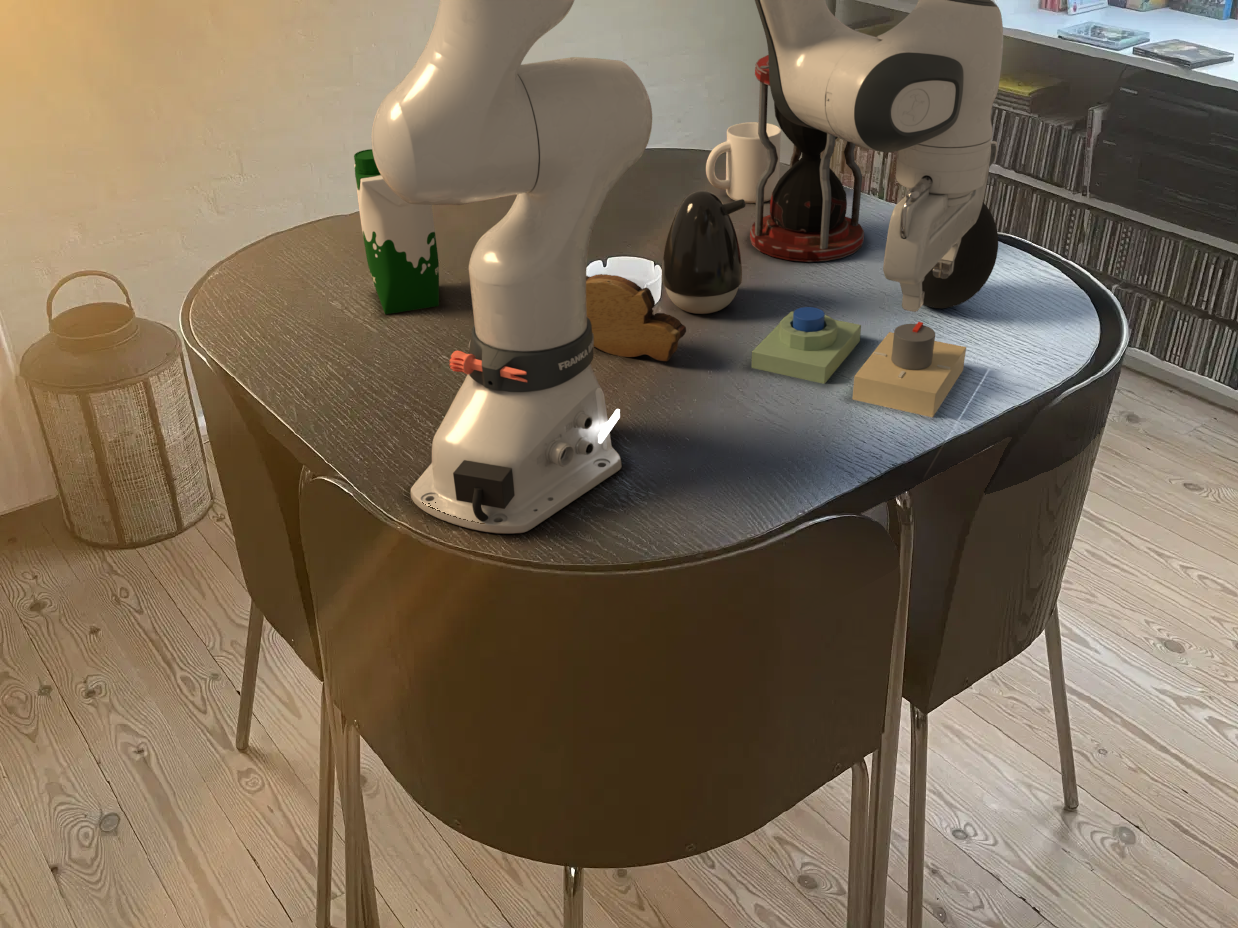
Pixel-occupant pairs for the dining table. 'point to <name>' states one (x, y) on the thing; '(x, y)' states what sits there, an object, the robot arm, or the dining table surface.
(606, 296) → the wooden carving
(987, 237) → the decorative egg
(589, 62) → the robot arm
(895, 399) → the dial panel
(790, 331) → the button housing
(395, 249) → the milk carton
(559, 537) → the dining table surface
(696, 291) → the pump dispenser
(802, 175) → the hourglass
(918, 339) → the dial
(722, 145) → the mug
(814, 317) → the button
